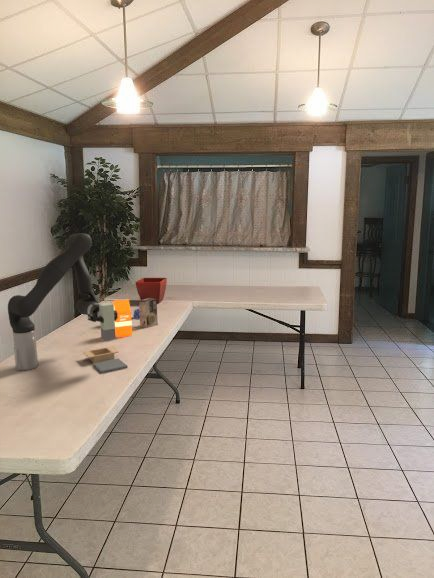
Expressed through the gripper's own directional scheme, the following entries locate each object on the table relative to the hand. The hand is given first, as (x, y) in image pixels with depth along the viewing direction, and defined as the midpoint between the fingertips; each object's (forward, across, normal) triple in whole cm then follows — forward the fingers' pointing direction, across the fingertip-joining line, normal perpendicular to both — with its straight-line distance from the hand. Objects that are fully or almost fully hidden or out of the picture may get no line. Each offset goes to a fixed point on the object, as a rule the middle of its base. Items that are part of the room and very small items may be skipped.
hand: (109, 319), depth 202 cm
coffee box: (-58, +43, +23) cm, 76 cm away
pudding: (-81, +46, +24) cm, 97 cm away
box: (-3, 0, +10) cm, 10 cm away
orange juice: (-48, +23, +23) cm, 58 cm away
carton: (-15, 0, +23) cm, 27 cm away
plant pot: (-119, +72, +24) cm, 141 cm away
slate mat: (-2, 0, +23) cm, 23 cm away
